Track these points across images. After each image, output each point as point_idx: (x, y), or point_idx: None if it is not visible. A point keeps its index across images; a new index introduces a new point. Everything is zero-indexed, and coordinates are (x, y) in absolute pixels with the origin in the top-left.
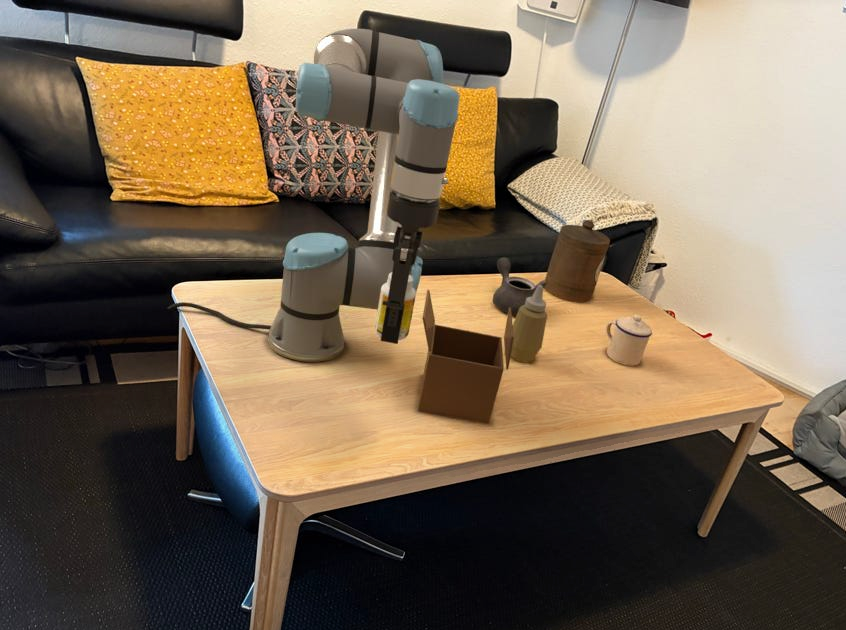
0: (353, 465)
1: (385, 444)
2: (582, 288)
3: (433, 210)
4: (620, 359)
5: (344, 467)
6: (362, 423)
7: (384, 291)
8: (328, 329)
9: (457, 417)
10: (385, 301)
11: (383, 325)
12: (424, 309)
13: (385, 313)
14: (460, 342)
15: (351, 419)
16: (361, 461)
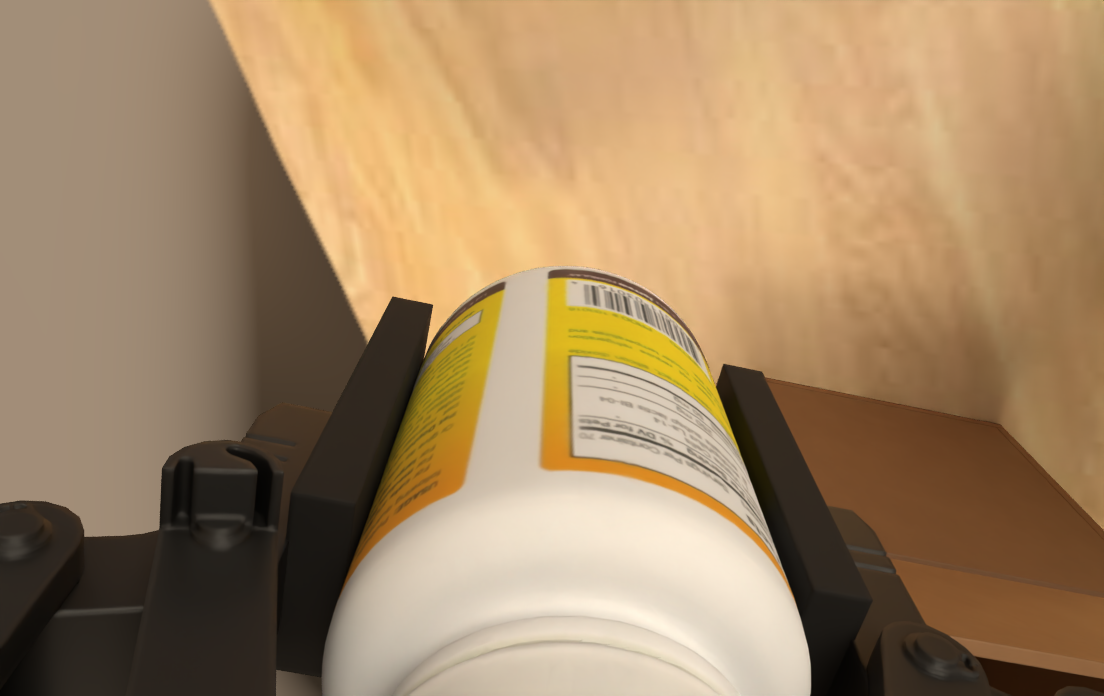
0: (322, 65)
1: (482, 212)
2: None
3: None
4: None
5: (303, 24)
6: (627, 123)
7: (442, 529)
8: None
9: None
10: (216, 500)
11: (361, 361)
12: (1063, 660)
13: (328, 427)
14: (1044, 680)
15: (656, 73)
16: (354, 101)
